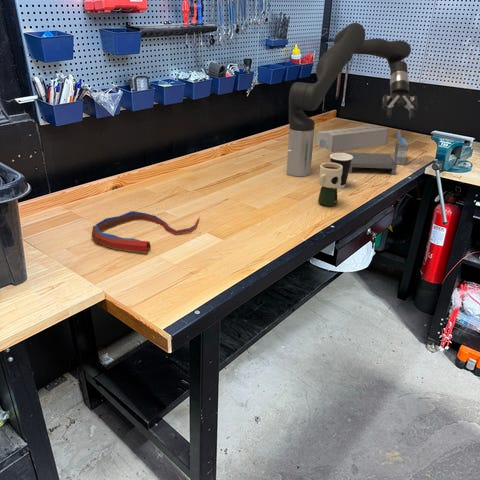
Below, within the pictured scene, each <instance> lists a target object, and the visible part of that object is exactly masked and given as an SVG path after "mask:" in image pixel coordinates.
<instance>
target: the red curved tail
mask: <svg viewBox="0 0 480 480" xmlns="http://www.w3.org/2000/svg"><path fill="white" fill-rule="evenodd" d="M200 218H201V217H200V216H199V217H198V218H197V220H196V222H195V223H194V225H193V226H191V227H188V228H187V227H186V228H181V229H177V230H176V229H174V228H172V227H171V226H170V225H169V224H168V222H166V221H164V220H163V219H161V218H159V217H158V216H156V215H153V214H149V213H146V212H140V211H135V210H131V211H128V212H126V213H124V214H121V215H117V216H113V217H112V216H111V217H106V218H104V219H102V220H101V221H99V222H98V223H96V224H95V225H94V226H92V230H91V231H92V232H91V237H92V239H93V240H94V241H95V243H97V244H98V243H99V244H98V245H101V244H102V245H101V246H104V247H106V246H107V248H110V249H112V248H113V249H112V250H117V249H118V251H123V250H124V251H123V252H132V253H137V254H138V253H140V254H146V253H147V254H148V251H147V249H149V251H151V250H152V247H151V246H152V245H151V242H150V241H149V240H148V241H147V240H140V239H136V238H132V237H131V238H130V237H121V236H118V235H115V234H110V233H106V231H107V229H108V230H110V229H112V228H116V227H117V225H118V226H120V225H123V223H124V224H126V222H127V223H129V222H133V221H134V220H135V221H147V222H150V221H151V222H150V223H154V222H155V224H157V225H159V224H160V225H159V226H162V227H163V228H164V230H165V231H166V232H168V233H170V234H173V235H177V236H178V235H182V234H187V233H191V232H192V231H193V230H195V229H196V228H197V227H198V223H199V221H200ZM135 221H134V222H135ZM109 228H110V229H109ZM105 230H106V231H105ZM103 231H104V232H103Z"/></svg>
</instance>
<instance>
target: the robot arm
mask: <svg viewBox="0 0 480 480" xmlns="http://www.w3.org/2000/svg"><path fill="white" fill-rule="evenodd" d="M333 43H334V44H333V45H332V46H331V47H329V49H327V50H326V51H325V52H324V54H323V55H322V56H321V57H320V59H319V60H318V61H317V63H316V66H315V74H316V77H317V81H316V82H315V83H310V82H302V81H301V82H300V81H297V82H294V83H292V84H291V87H290V89H289V95H288V125H289V127H288V144H287V157H286V175H289V176H293V177H306V176H309V175H310V174H311V171H312V170H311V169H312V161H313V160H312V157H313V148H314V139H315V126H316V122H315V121H314V120H313V118H310V117H309V116H307V115H306V113H305V112H304V111H307V112H310V111H311V112H313V111H315V110H317V109H318V108H319V106H320V105H321V104H322V102H323V100H324V99H325V96H326V94H327V93H328V91H329V89H330V88H331V86H332V84H333V83H334V82H335V81H336V79H337V78H338V76H339V75H340V74H341V72H342V71H343V70H344V68H345V67H346V65H347V63H348V62H349V60H350V59H351V57H352V56H353V55H367V56H373V57H378V58H381V59H386V62H387V64H388V67H389V69H390V80H389V88H390V90H389V91H390V92H389V93H390V94H389V95H387V94H384V95H383V96H382V106H381V108H382V110H386V117H387V118H388V119H391V118H392V109H393V107H404V108H405V109H407V110H408V118H409V120H411V119H412V118H413V117H414V115H415V114H414V113H415V112H416V111H417V109H418V108H419V102H418V95H413V96H410V89H409V87H410V86H409V83H410V81H409V75H408V73H409V72H408V64H407V62H406V61H405V59H406V58H407V57H409V56H410V54H411V53H412V47H411V45H410V44H409V42H406V41H404V40H387V39H383V38H369V39H366V30H365V28H364V26H363V24H361V23H359V22H351V23H350V24H348V25H347V26H345V27H344V28H342V29H341V30H340V31H339V32H338V33H337V34H336V35H335V37H334V40H333ZM388 101H390V103H389V104H387V103H388ZM414 111H415V112H414Z"/></svg>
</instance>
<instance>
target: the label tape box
mask: <svg viewBox="0 0 480 480" xmlns="http://www.w3.org/2000/svg"><path fill="white" fill-rule="evenodd" d="M408 146H409V144H408V142H407V140H406V139H405V138H404V137H401V132H400V130H397V135H396V142H395V149H394V153H393V154H394V155H393V160H394V161H395V163H396V164H397V166H398V165H399V166H405V165H406V162H407V161H406V160H407V156H408V155H407V153H408Z"/></svg>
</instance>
